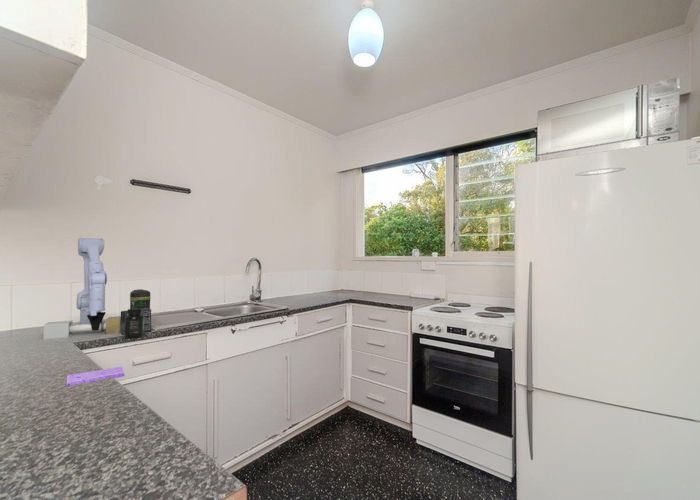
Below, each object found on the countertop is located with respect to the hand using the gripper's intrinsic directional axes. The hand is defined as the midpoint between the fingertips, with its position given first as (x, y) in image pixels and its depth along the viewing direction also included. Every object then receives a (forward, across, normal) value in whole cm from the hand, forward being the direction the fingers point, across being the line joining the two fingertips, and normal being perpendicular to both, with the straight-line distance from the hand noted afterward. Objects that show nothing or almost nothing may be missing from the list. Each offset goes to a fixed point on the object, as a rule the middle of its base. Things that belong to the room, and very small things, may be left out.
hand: (96, 329), depth 145 cm
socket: (+2, 0, +6) cm, 7 cm away
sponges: (+2, +69, +11) cm, 70 cm away
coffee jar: (+2, -7, +16) cm, 18 cm away
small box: (+2, +7, +16) cm, 17 cm away
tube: (+1, 0, -3) cm, 3 cm away
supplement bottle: (+2, +16, +16) cm, 22 cm away
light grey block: (+2, 0, -13) cm, 13 cm away
